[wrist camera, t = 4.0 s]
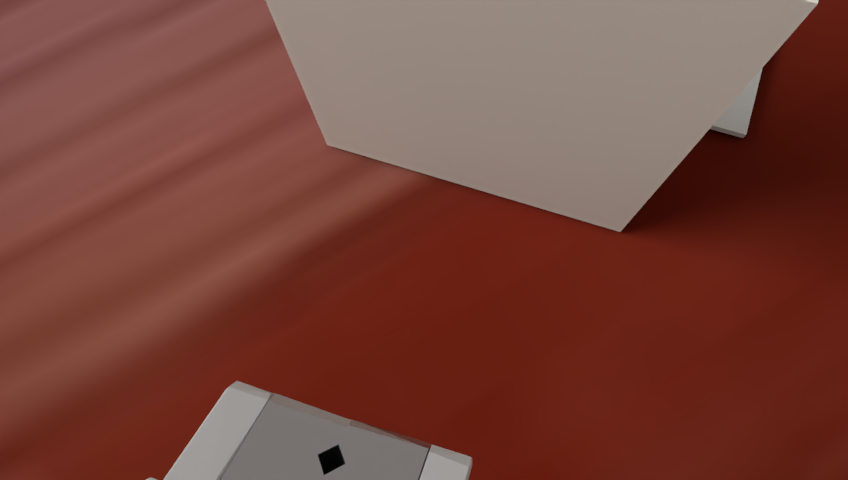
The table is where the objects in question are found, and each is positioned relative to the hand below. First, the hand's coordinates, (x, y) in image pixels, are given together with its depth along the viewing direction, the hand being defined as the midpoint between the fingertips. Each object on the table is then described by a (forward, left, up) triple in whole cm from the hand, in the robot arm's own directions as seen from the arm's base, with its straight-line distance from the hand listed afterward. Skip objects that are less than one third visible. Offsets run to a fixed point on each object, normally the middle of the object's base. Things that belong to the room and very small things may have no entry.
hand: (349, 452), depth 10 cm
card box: (+10, +1, -15) cm, 18 cm away
